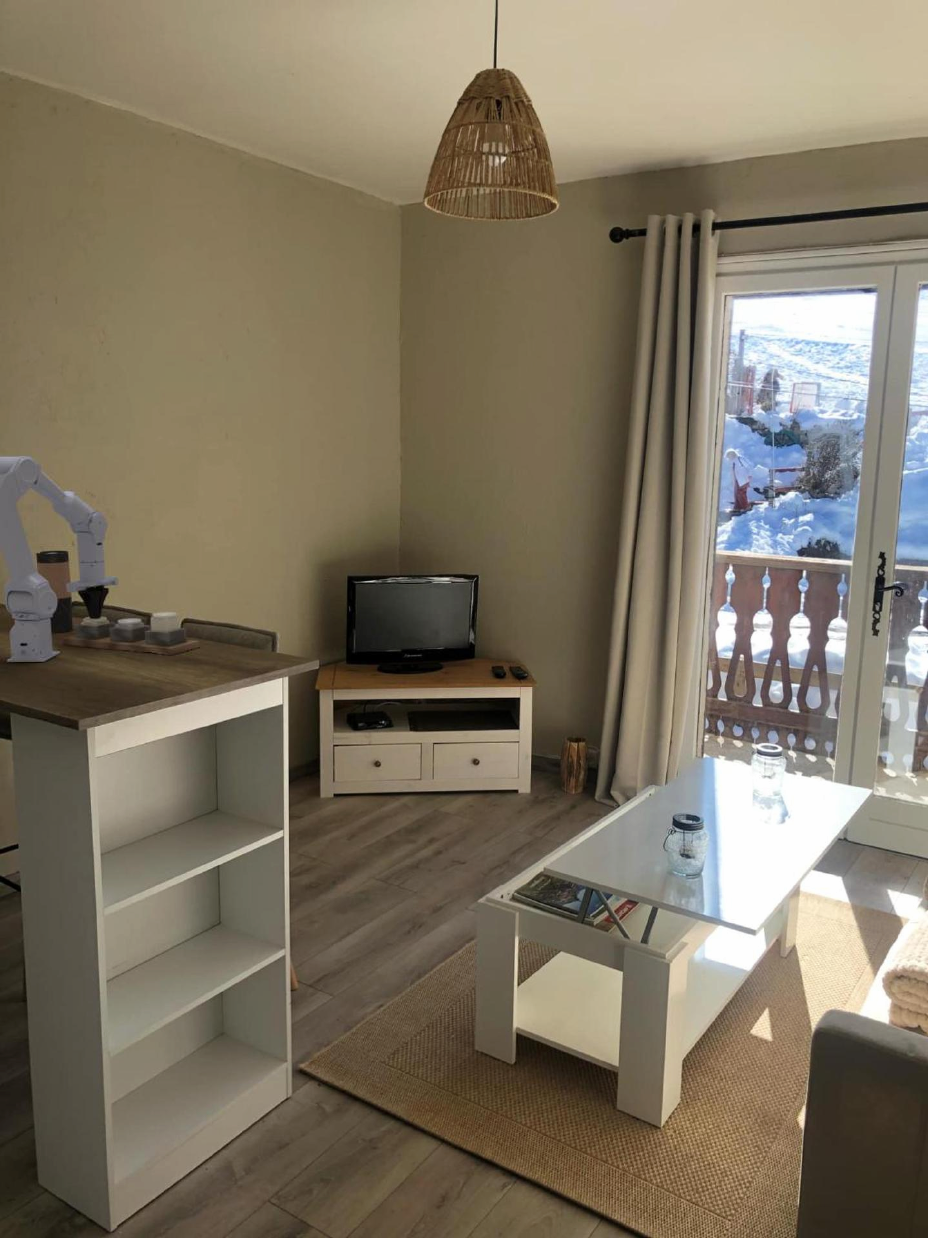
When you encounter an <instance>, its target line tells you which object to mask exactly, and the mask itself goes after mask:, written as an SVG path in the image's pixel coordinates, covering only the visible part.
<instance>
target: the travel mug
mask: <svg viewBox="0 0 928 1238" xmlns="http://www.w3.org/2000/svg"><path fill="white" fill-rule="evenodd" d="M35 554H36V570H37V573H39V574H40V575H41V576H42V577H44V578H45V579H46V580H47V581H48V582H49V585H50V587H51V589H52V590H53V591H54V592H55V594H56V596H57V608H56V610H55V612H54V613H53V617H50V621H51V634H60V633H68V632H72V631H73V598H72V592H67V587H66V584H68V583H72V582H71V571H70V559H69V557H70V556H69V551H68V550H67V551H66V550H42V551H39V553H38V552H36V553H35Z"/></svg>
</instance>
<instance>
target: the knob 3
mask: <svg viewBox="0 0 928 1238" xmlns="http://www.w3.org/2000/svg"><path fill="white" fill-rule="evenodd" d="M177 615H178V614H177V612H175V611H173V612H172V611H162V612H160V611H159V612H154V613H152V617H150V630H151V631H153V632H164V633H168V632H172V631H176V630H180V628H181V627H180V616H177Z"/></svg>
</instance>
